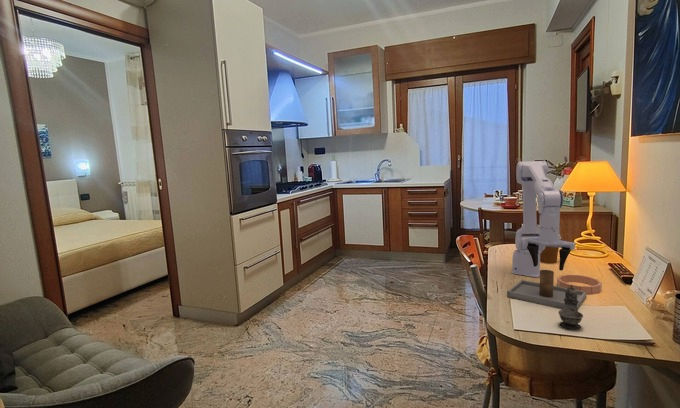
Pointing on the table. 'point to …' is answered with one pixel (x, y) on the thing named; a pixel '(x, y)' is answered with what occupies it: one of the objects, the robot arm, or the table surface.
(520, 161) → the robot arm
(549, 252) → the disposable coffee cup
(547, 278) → the dowel
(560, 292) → the tray
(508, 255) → the table surface
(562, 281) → the pinkish brown ring
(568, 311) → the dark grey figurine
